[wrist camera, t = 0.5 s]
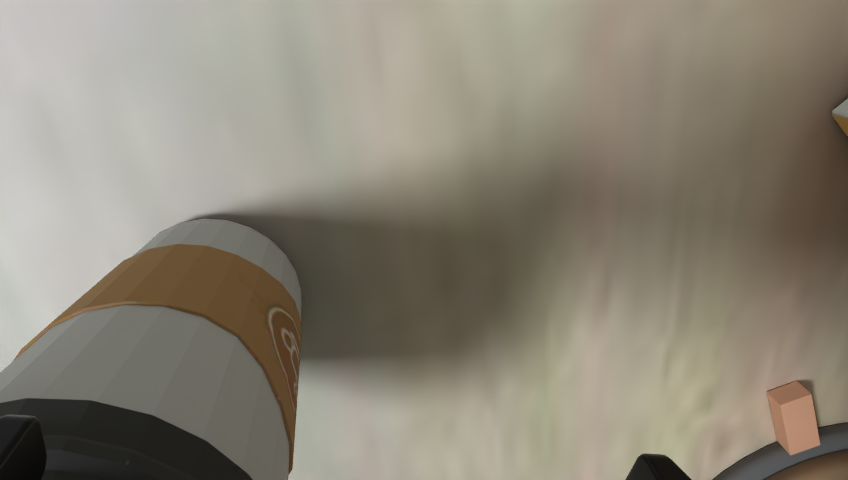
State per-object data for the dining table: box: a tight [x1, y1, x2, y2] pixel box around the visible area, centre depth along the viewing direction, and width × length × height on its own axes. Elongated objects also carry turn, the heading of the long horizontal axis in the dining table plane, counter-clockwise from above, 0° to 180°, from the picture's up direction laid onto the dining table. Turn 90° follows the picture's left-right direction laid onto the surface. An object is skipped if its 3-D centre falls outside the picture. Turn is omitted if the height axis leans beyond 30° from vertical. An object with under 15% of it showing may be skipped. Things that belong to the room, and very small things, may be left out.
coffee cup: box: [0, 219, 302, 480], centre depth 18 cm, size 8×8×15 cm
